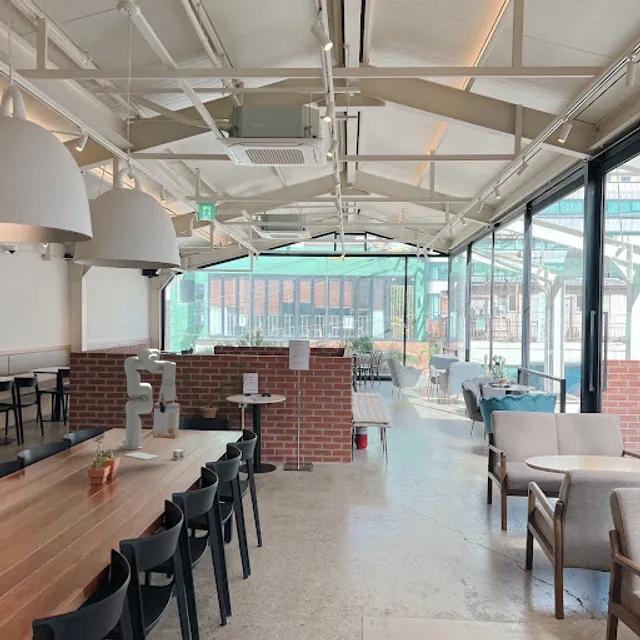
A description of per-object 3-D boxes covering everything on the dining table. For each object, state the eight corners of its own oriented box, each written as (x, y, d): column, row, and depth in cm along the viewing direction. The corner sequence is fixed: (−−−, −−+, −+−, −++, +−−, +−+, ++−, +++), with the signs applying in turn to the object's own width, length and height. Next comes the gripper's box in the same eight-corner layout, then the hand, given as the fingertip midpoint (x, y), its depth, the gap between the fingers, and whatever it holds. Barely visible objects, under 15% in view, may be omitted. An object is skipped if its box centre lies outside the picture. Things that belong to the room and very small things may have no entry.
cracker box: (178, 437, 362) (180, 403, 362) (175, 439, 356) (176, 404, 356) (156, 435, 364) (158, 401, 363) (152, 437, 358) (154, 402, 357)
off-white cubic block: (172, 458, 366) (172, 450, 366) (177, 457, 371) (178, 449, 371) (178, 459, 364) (179, 451, 364) (184, 458, 368) (184, 450, 368)
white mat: (123, 455, 367) (123, 454, 367) (136, 452, 377) (136, 451, 377) (147, 460, 359) (147, 459, 359) (159, 457, 368) (159, 456, 368)
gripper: (173, 380, 369) (171, 409, 369) (153, 382, 354) (152, 412, 354) (182, 382, 366) (181, 410, 366) (163, 384, 350) (161, 413, 350)
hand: (167, 411), depth 360 cm, fingers closed on cracker box, 7 cm apart
